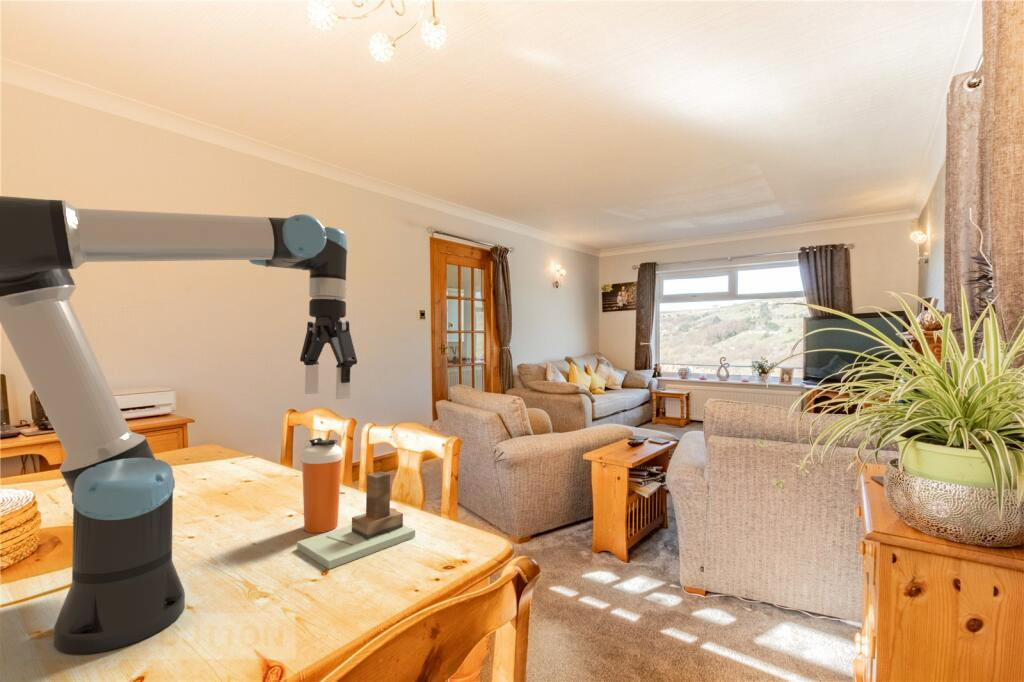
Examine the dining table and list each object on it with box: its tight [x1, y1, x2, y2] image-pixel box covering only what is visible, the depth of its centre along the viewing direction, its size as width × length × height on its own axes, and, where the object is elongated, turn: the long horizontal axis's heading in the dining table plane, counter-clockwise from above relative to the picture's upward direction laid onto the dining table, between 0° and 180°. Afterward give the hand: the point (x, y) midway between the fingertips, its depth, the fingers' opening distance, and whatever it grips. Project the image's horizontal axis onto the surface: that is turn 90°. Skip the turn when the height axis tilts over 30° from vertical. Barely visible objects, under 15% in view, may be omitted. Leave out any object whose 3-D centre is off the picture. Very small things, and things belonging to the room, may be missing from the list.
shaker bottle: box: [300, 437, 344, 534], centre depth 109 cm, size 9×9×20 cm
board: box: [296, 524, 416, 570], centre depth 100 cm, size 20×13×2 cm, turn 139°
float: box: [351, 470, 404, 539], centre depth 104 cm, size 9×6×12 cm, turn 139°
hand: (326, 396), depth 104 cm, fingers open, 13 cm apart
